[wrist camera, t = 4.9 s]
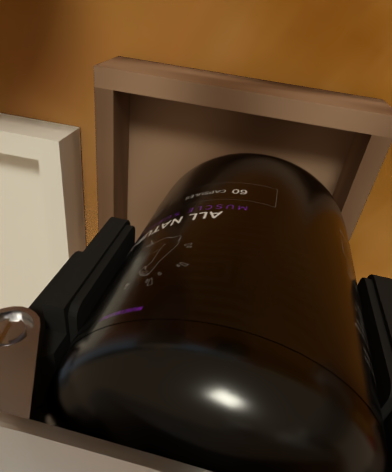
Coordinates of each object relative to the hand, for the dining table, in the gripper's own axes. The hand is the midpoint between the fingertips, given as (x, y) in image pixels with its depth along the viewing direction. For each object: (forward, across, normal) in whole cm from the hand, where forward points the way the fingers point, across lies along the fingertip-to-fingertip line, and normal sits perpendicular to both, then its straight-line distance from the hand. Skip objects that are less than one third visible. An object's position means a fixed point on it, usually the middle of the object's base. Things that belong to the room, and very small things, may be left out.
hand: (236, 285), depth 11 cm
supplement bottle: (+3, 0, 0) cm, 3 cm away
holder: (+7, +1, 0) cm, 7 cm away
